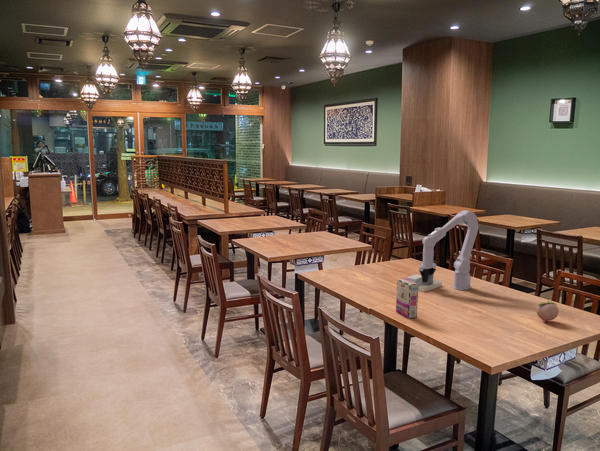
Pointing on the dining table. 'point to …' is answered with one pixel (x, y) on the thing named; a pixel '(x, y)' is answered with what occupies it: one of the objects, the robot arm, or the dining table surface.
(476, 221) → the robot arm
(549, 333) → the dining table surface
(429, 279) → the metal block
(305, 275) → the dining table surface
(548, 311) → the decorative fruit
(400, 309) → the candy bar box
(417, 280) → the plain white rectangular box
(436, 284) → the tote
